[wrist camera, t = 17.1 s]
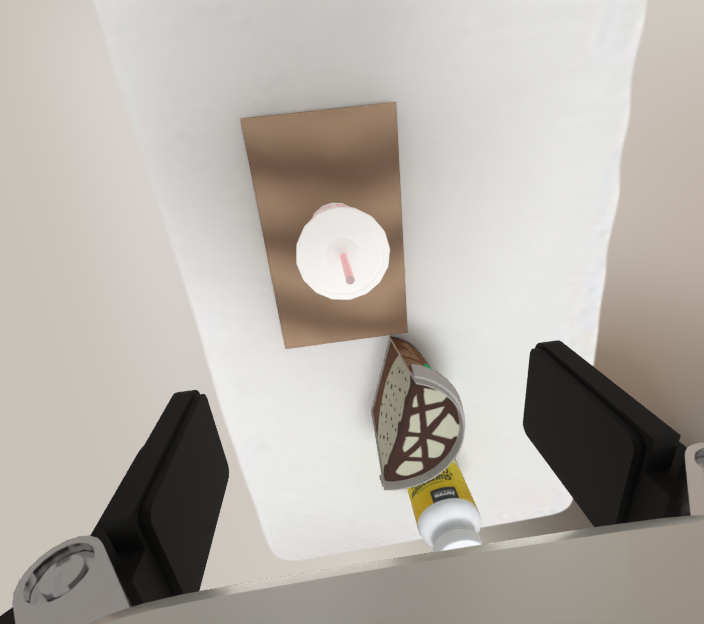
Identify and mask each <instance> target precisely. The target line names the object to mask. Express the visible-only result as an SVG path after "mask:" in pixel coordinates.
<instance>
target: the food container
mask: <svg viewBox="0 0 704 624" xmlns="http://www.w3.org/2000/svg"><path fill="white" fill-rule="evenodd" d="M371 413H372V419H373V425H374V431H375V438H376V444H377V450H378V456H379V462H380V468H381V475H380V480H381V483H382V487H384V490H401V489H407V488H411V487H415V486H417V485H420V484H423V483H425V482H427V481H429V480H431V479H433V478H434V477H436V476H437V475H439V474H440V473H441V472H443V471H444V470H445V469H446V468H447V467H448V466H449V465H450V464H451V463H452V462H453V460H454V459H455V457H456V456H457V455H458V453H459V451H460V448H461V446H462V443H463V439H464V433H465V416H464V411H463V407H462V403H461V400H460V397H459V395H458V393H457V391H456V389H455V388H454V386H453V385H452V384H451V383H450V382H449V381H448V380H447V379H446V378H445V377H444V376H442V375H441V374H439V373H437V372H436V371H434V370H432V369H431V368H430V366H429V365H428V364H427V362H426V361H425V360H424V358H423V357H422V355H421V354H420V353H419V352H418V350H417V349H416V348H415V347H414V346H412V345H411V344H410V343H408V342H406V341H404V340H401V339H399V338H395V337H390V338H389V342H388V346H387V350H386V354H385V358H384V362H383V366H382V370H381V374H380V378H379V382H378V386H377V390H376V394H375V398H374V402H373V405H372V409H371Z"/></svg>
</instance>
